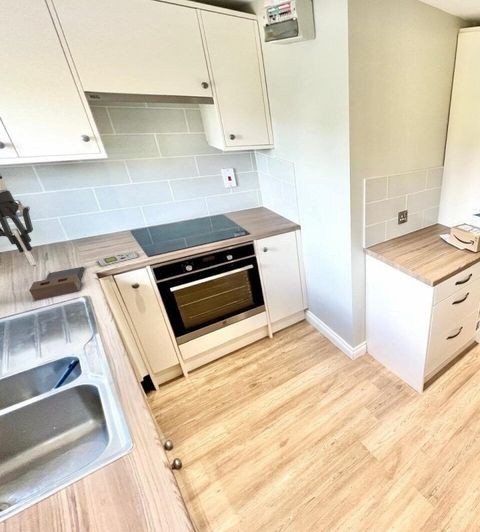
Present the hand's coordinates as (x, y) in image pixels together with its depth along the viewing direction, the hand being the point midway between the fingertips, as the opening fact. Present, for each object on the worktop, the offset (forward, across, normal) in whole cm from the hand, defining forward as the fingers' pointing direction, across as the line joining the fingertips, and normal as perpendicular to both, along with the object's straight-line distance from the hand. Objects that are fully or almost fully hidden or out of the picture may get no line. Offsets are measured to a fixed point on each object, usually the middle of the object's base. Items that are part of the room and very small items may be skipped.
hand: (26, 250), depth 127 cm
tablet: (+20, -3, -14) cm, 25 cm away
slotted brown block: (+20, -3, 0) cm, 20 cm away
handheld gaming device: (+20, -22, -26) cm, 39 cm away
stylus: (+7, 0, 0) cm, 7 cm away
